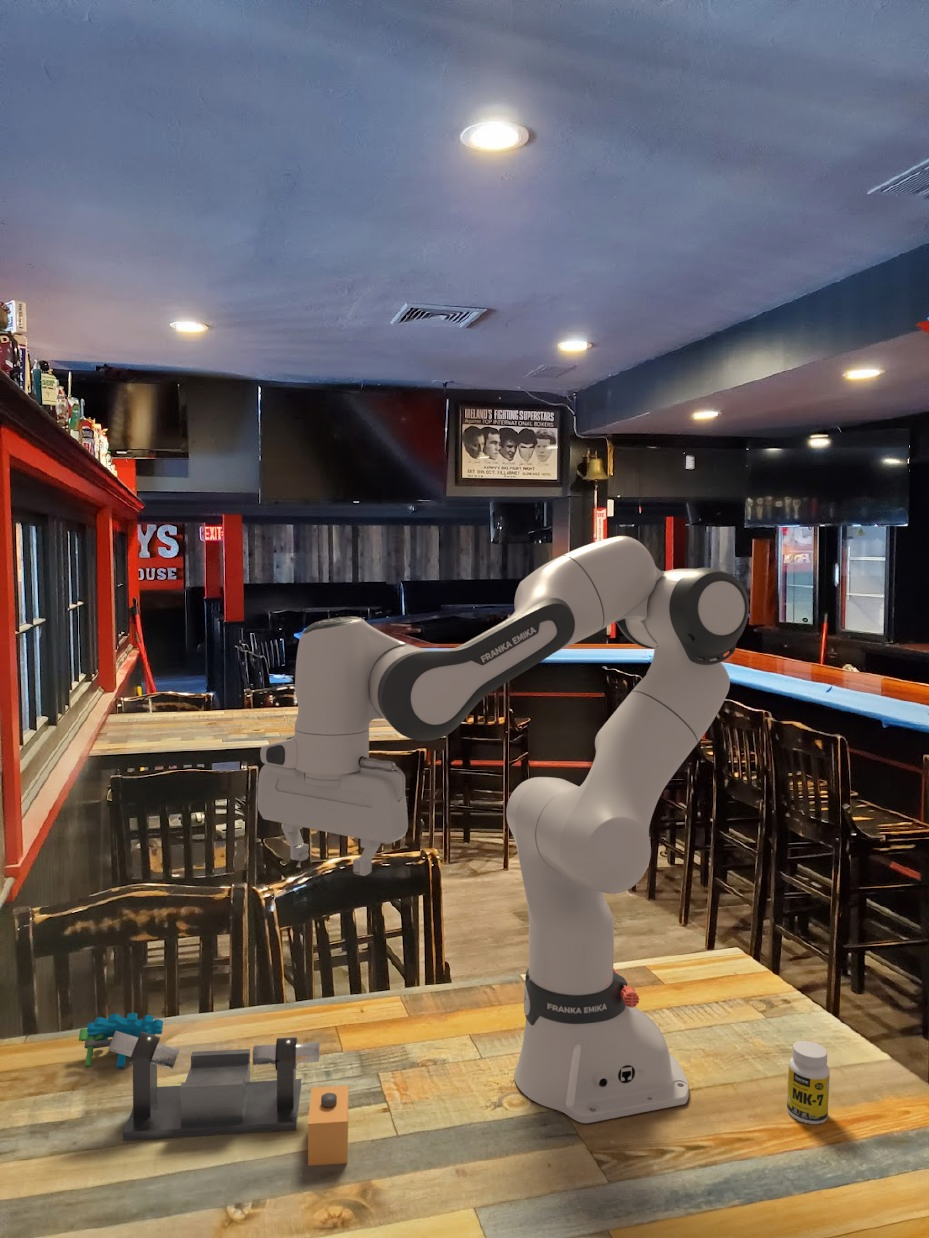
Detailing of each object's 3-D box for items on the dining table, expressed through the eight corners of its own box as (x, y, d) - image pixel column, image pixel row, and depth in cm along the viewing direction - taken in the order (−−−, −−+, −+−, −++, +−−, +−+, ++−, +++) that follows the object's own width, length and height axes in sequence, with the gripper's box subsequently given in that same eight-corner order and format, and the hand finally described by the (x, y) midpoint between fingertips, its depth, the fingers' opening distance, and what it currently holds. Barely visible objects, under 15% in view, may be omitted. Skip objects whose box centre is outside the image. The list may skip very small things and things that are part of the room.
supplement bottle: (786, 1120, 110) (788, 1054, 109) (786, 1099, 114) (789, 1035, 113) (828, 1129, 108) (831, 1062, 107) (827, 1107, 112) (829, 1042, 112)
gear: (173, 1026, 127) (150, 1003, 119) (169, 1071, 123) (145, 1050, 116) (96, 1037, 127) (68, 1015, 119) (89, 1083, 123) (59, 1062, 115)
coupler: (311, 1127, 107) (311, 1081, 107) (348, 1125, 108) (348, 1079, 108) (308, 1166, 100) (308, 1116, 100) (347, 1163, 101) (347, 1114, 101)
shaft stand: (320, 1085, 116) (320, 1004, 115) (317, 1128, 107) (317, 1041, 106) (119, 1096, 113) (118, 1013, 112) (99, 1141, 104) (97, 1052, 103)
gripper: (419, 758, 104) (417, 874, 105) (284, 739, 114) (282, 845, 115) (389, 768, 99) (387, 891, 99) (249, 747, 108) (248, 858, 109)
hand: (330, 866), depth 107 cm, fingers open, 8 cm apart
